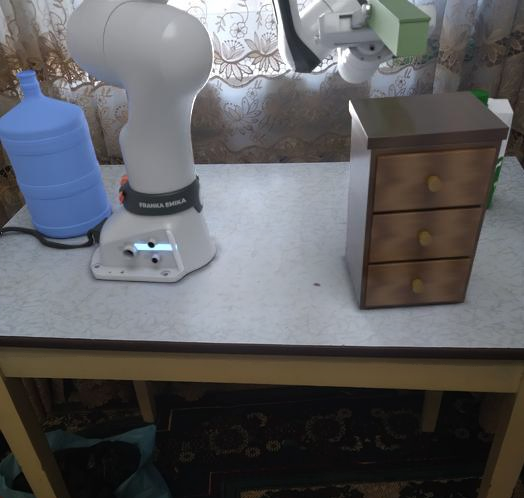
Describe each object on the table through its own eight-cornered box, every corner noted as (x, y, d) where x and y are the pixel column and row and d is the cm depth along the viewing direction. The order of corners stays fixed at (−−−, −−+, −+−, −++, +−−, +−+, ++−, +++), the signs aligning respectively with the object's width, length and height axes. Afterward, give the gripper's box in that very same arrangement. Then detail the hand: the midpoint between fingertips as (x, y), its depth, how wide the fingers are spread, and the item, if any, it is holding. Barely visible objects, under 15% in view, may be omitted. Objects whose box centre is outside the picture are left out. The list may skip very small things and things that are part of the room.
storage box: (395, 57, 72) (399, 19, 69) (365, 22, 90) (367, -9, 87) (426, 55, 72) (431, 17, 69) (390, 20, 90) (392, -11, 87)
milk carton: (443, 189, 109) (461, 85, 95) (489, 191, 107) (514, 85, 94) (445, 209, 102) (465, 100, 89) (494, 211, 100) (522, 100, 87)
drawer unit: (357, 316, 79) (370, 143, 62) (342, 257, 92) (349, 99, 74) (471, 309, 79) (515, 132, 61) (440, 251, 91) (469, 90, 74)
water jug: (119, 228, 105) (77, 75, 86) (38, 247, 101) (-23, 92, 83) (106, 197, 116) (66, 56, 97) (33, 214, 112) (-23, 70, 94)
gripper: (312, 25, 98) (319, -9, 85) (422, 16, 98) (446, -20, 84) (314, 62, 100) (321, 33, 86) (422, 53, 99) (446, 24, 86)
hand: (384, 7), depth 85 cm, fingers closed on storage box, 4 cm apart
